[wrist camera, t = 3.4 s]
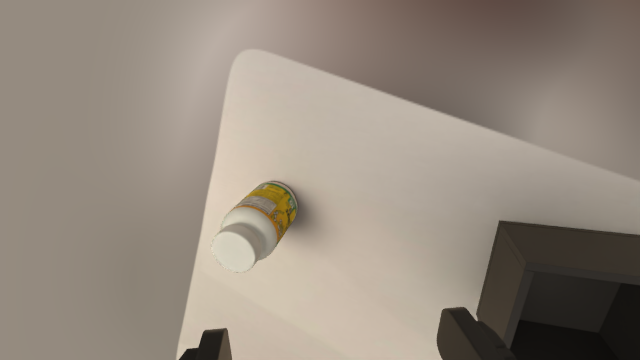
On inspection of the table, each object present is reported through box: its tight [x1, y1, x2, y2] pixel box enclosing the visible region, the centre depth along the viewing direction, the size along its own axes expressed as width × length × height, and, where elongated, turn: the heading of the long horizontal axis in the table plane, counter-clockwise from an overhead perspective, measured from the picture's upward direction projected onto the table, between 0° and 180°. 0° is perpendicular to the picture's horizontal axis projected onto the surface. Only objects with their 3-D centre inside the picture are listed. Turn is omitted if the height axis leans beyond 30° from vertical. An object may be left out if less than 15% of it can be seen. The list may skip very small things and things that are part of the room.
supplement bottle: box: [211, 182, 298, 273], centre depth 28 cm, size 5×5×10 cm
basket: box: [476, 221, 640, 360], centre depth 26 cm, size 11×11×6 cm
